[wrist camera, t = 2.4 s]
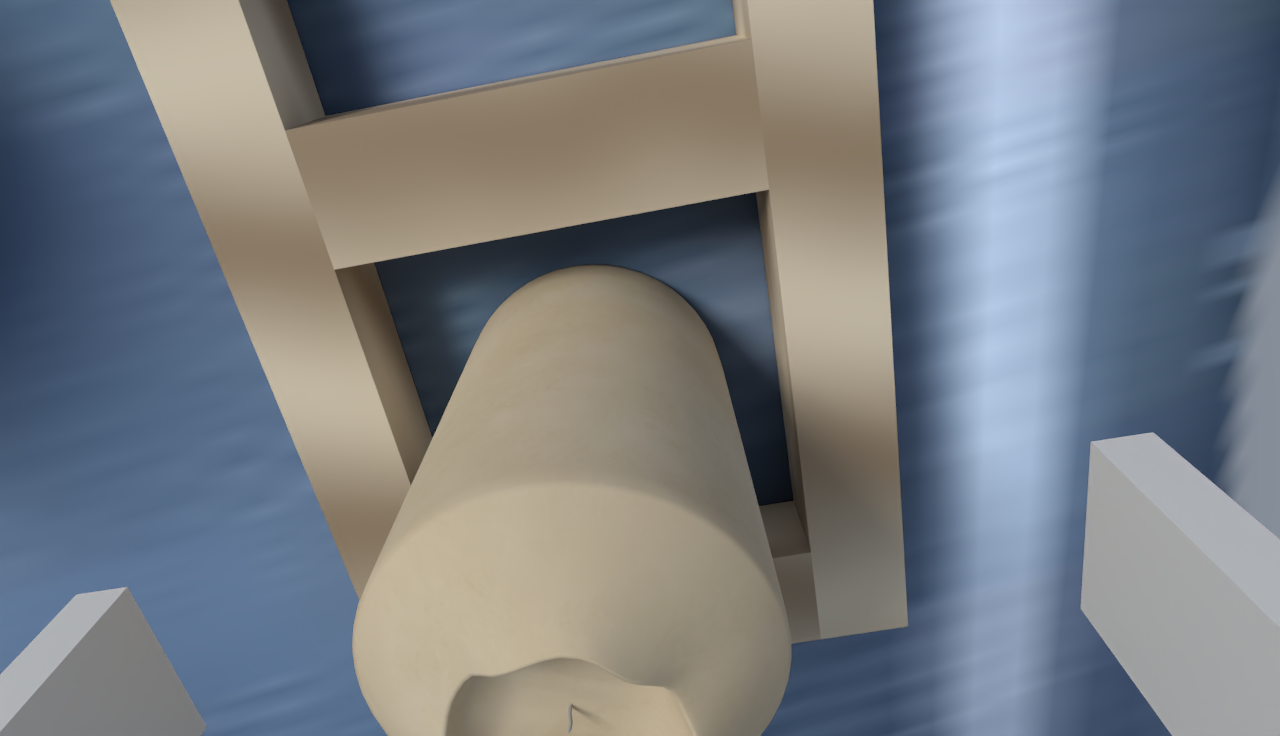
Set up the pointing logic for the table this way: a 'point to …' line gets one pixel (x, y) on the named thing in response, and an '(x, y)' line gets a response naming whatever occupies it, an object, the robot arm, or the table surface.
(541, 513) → the candle
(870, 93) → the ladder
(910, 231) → the table surface
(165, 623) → the table surface
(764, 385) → the table surface
